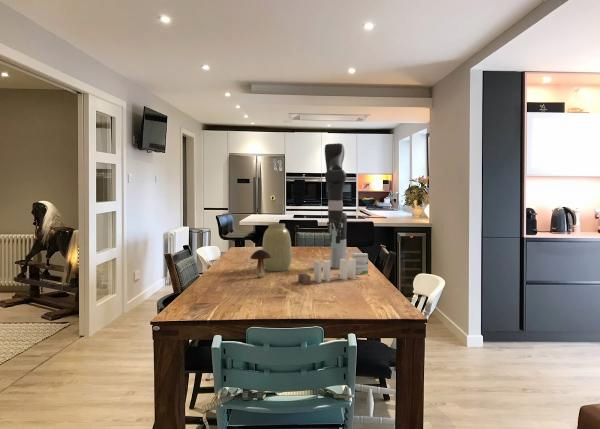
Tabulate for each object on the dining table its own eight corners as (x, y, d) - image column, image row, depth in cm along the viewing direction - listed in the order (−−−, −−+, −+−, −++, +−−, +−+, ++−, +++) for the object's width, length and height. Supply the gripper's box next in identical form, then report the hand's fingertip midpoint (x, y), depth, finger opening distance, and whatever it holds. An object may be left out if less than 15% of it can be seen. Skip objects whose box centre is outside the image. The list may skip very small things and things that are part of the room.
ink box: (367, 273, 249) (367, 252, 249) (368, 275, 244) (368, 254, 244) (352, 273, 250) (352, 252, 250) (352, 275, 245) (352, 253, 245)
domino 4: (339, 278, 232) (339, 259, 232) (342, 277, 233) (342, 258, 232) (344, 279, 228) (344, 260, 227) (347, 279, 228) (347, 260, 228)
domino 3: (331, 247, 229) (331, 228, 229) (334, 247, 230) (334, 228, 229) (336, 249, 225) (336, 229, 224) (339, 248, 225) (339, 229, 225)
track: (293, 283, 224) (293, 273, 224) (353, 277, 239) (353, 268, 238) (302, 287, 215) (302, 277, 215) (363, 281, 230) (363, 271, 229)
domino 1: (314, 280, 226) (314, 261, 225) (316, 280, 227) (316, 260, 226) (318, 282, 221) (318, 262, 221) (321, 282, 222) (321, 262, 221)
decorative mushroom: (254, 280, 232) (254, 251, 231) (247, 276, 242) (247, 249, 241) (273, 278, 236) (273, 250, 235) (266, 274, 246) (266, 247, 245)
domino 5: (348, 277, 234) (348, 258, 234) (350, 277, 235) (350, 258, 234) (353, 279, 230) (353, 259, 229) (355, 278, 230) (355, 259, 230)
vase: (297, 268, 266) (297, 223, 264) (280, 273, 251) (280, 225, 250) (273, 266, 275) (273, 222, 273) (256, 270, 260) (256, 224, 259)
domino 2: (322, 279, 228) (322, 260, 227) (325, 279, 229) (325, 260, 228) (327, 281, 223) (327, 261, 223) (330, 281, 224) (330, 261, 224)
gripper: (322, 208, 231) (322, 241, 232) (335, 210, 218) (335, 244, 219) (335, 208, 234) (334, 240, 235) (349, 209, 221) (348, 243, 222)
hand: (335, 242), depth 227 cm, fingers closed on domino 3, 5 cm apart
